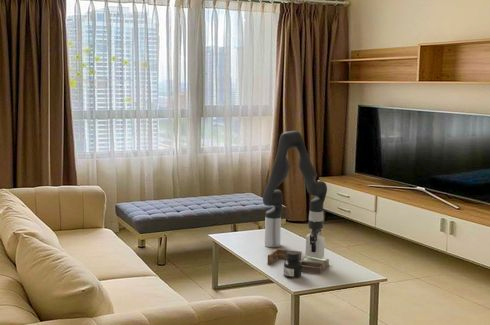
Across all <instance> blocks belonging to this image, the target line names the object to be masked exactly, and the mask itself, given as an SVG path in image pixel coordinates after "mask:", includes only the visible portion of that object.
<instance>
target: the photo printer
mask: <svg viewBox="0 0 490 325" xmlns="http://www.w3.org/2000/svg"><path fill="white" fill-rule="evenodd" d="M310 234H311V233H308V234H307V235H306V237H305V238H306V239H305V253H304V254H305V256H309V257H315V258H319V259H323V258H324V259H325V247H326V246H325V242H326V238H325V237H324V236H323V235H322V234H321V235H318V238H317V241H316V252H311V246H312V245H310ZM315 239H316V238H315ZM313 243H314V242H313Z"/></svg>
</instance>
